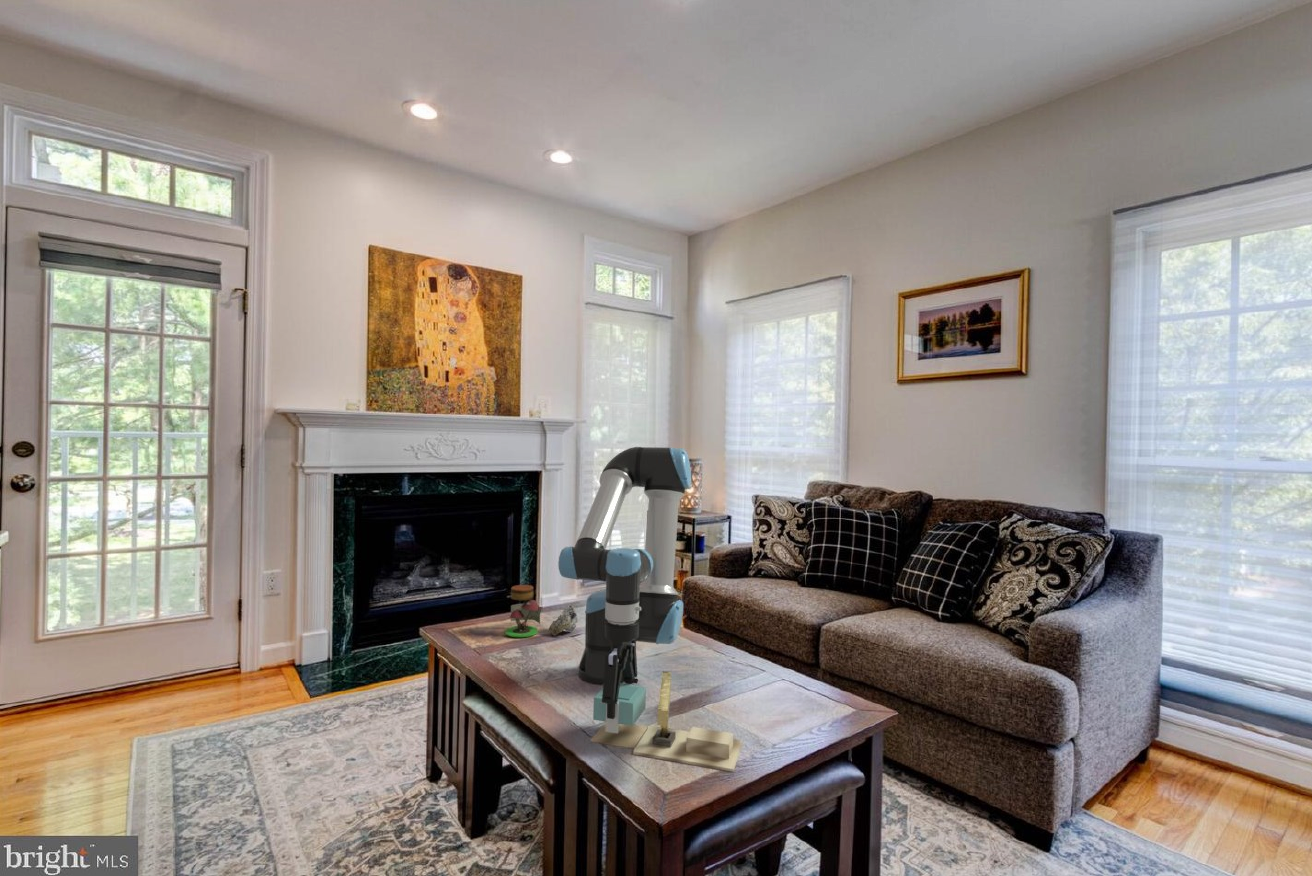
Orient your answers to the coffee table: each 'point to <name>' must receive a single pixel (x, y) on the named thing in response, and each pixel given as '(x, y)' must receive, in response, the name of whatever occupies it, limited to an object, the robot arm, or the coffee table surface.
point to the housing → (691, 747)
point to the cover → (623, 704)
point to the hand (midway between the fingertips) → (619, 721)
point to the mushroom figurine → (523, 612)
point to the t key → (664, 703)
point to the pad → (620, 736)
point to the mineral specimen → (564, 621)
